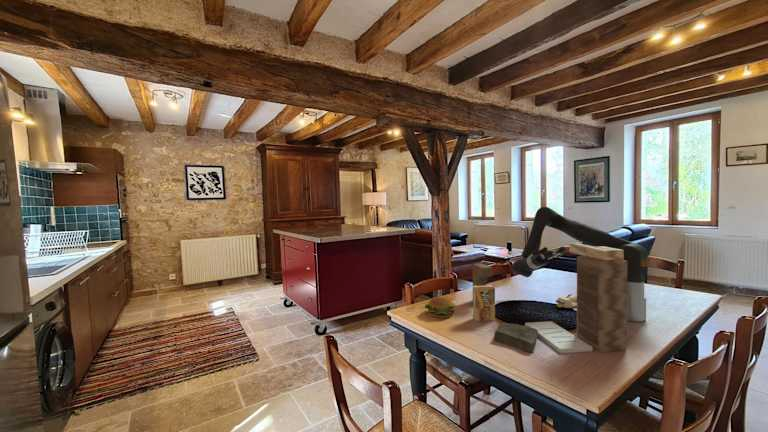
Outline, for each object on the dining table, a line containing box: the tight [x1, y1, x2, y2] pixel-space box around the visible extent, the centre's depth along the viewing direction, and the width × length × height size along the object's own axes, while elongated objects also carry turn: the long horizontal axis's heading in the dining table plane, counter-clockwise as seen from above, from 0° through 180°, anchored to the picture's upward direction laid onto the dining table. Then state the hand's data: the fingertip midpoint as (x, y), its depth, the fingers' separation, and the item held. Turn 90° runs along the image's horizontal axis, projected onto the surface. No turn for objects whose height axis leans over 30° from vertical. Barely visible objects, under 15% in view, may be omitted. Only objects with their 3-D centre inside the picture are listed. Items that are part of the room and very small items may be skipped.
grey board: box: [524, 320, 593, 354], centre depth 124 cm, size 12×24×2 cm, turn 4°
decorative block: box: [472, 263, 493, 287], centre depth 167 cm, size 11×6×20 cm, turn 12°
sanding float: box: [569, 242, 624, 262], centre depth 121 cm, size 7×21×4 cm, turn 4°
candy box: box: [472, 284, 496, 322], centre depth 144 cm, size 9×4×15 cm, turn 92°
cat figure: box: [555, 293, 577, 309], centre depth 160 cm, size 10×9×25 cm
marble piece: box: [493, 322, 538, 354], centre depth 123 cm, size 17×15×4 cm
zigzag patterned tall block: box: [576, 255, 628, 353], centre depth 117 cm, size 10×12×32 cm
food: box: [424, 296, 456, 319], centre depth 153 cm, size 14×14×8 cm
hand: (555, 248), depth 145 cm, fingers open, 8 cm apart
